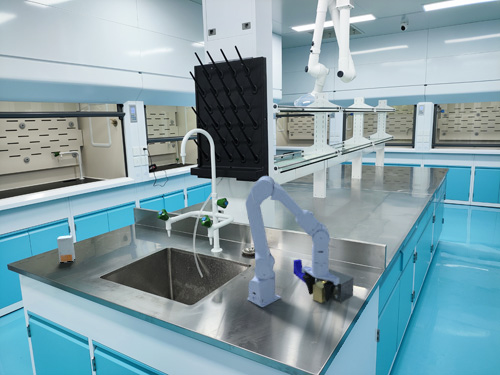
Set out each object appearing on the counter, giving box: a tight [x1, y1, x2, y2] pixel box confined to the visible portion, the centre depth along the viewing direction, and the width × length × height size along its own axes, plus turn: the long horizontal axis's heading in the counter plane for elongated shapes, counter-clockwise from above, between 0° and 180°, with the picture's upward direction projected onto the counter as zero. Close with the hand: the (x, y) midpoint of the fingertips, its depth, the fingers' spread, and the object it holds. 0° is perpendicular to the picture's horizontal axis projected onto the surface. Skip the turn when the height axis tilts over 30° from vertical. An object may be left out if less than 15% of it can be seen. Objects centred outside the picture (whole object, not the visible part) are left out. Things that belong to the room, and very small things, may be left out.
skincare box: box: [56, 234, 76, 263], centre depth 164 cm, size 6×4×12 cm
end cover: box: [312, 281, 326, 304], centre depth 124 cm, size 10×6×6 cm, turn 133°
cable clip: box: [293, 258, 306, 284], centre depth 140 cm, size 12×4×6 cm, turn 21°
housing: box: [315, 268, 355, 304], centre depth 127 cm, size 9×12×7 cm
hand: (319, 297), depth 122 cm, fingers open, 6 cm apart
